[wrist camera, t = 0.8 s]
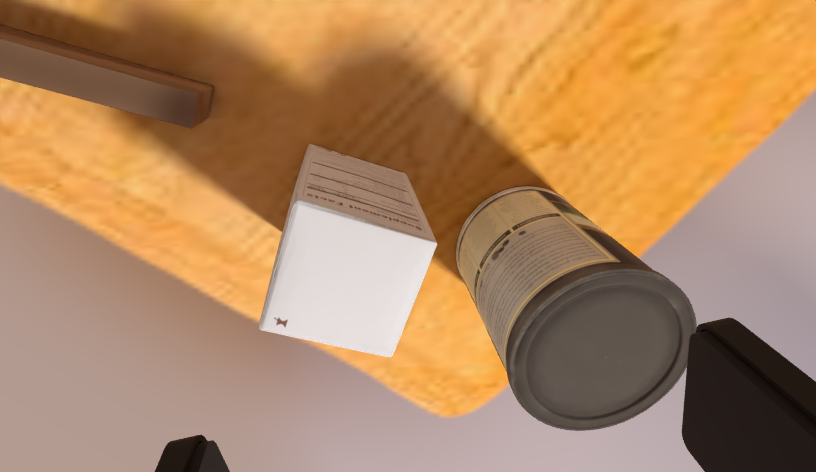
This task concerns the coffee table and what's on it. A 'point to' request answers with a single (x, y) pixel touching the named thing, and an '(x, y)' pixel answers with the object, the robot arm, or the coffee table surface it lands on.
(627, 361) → the coffee can
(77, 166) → the coffee table surface
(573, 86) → the coffee table surface
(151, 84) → the walnut fence
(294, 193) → the supplement box
